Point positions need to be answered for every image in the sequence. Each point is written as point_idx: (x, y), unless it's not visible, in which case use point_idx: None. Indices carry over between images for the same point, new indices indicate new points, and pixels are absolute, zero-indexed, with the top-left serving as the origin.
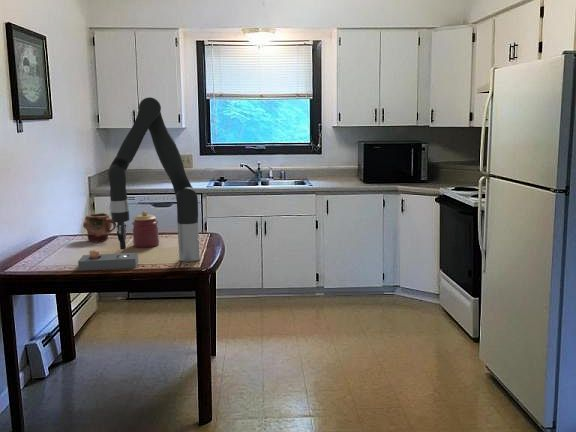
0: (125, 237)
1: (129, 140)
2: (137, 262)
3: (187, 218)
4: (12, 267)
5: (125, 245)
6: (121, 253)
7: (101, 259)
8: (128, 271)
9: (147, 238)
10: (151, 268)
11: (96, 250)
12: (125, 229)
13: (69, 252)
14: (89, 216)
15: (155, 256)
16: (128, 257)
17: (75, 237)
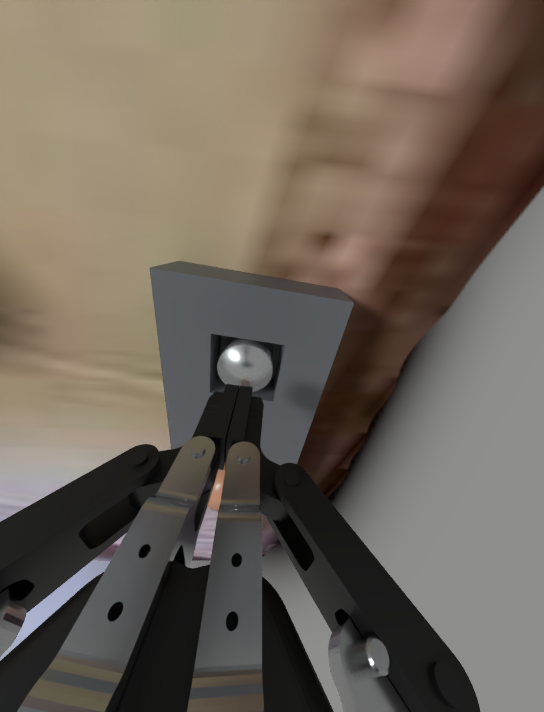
0: (158, 454)
1: None
2: (234, 271)
3: None
4: (194, 554)
5: (232, 400)
6: (166, 372)
7: (282, 453)
8: (396, 331)
9: None
10: (416, 182)
11: (218, 496)
12: (134, 641)
13: (18, 485)
14: None
15: (26, 94)
16: (293, 342)
17: None
